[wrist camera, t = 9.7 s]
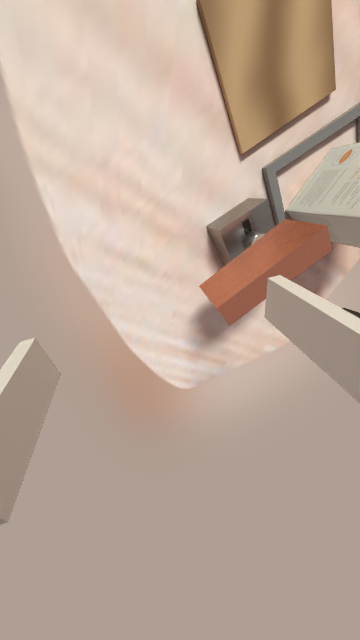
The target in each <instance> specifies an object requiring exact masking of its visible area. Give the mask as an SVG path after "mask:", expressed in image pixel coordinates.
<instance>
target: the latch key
mask: <svg viewBox="0 0 360 640" xmlns="http://www.w3.org/2000/svg"><path fill="white" fill-rule="evenodd" d="M244 245H245V247H246V248H247V249H246V250H245V251H243V252H242V253H241V254H240V255H238V256H237V257H236V258H234V259H233V260H232V261H231V262H229V263H228V264H227V265H226V266H224V267H223V268H222V269H220V270H219V271H218V272H217V273H215V274H214V275H213V276H211V277H210V278H209V279H208V280H206V281H205V282H204V283H203V284H201V285H200V286H199V287H200V288H201V290H202V291H203V292H204V294H205V295H206V296H207V298H208V299H209V300H210V302H211V303H212V304H213V305H214V307H215V308H216V309H217V310H218V311H219V313H220V314H221V315H222V316H223V317H224V319H225V320H226V321H227V322H228V324H229V325H231V324H232V323H233V322H235V321H236V320H237V319H239V318H240V317H242V316H243V315H244V314H246V313H247V312H248V311H250V310H251V309H253V308H254V307H255V306H257V305H258V304H259V303H261V302H262V301H264V300H265V299H266V295H267V282H268V278H270V277H274V276H278V275H281V276H283V277H285V278H286V279H288V280H290V281H291V280H292V279H294V278H295V277H296V276H298V275H299V274H301V273H302V272H303V271H305V270H306V269H307V268H309V267H310V266H312V265H313V264H314V263H316V262H317V261H318V260H320V259H321V258H323V257H324V256H325V255H327V254H328V253H329V252H331V251H332V250H333V249H332V245H331V240H330V235H329V231H328V226H327V225H322V224H315V223H308V222H301V221H295V220H288V219H284V220H283V221H282V222H280V223H279V224H278V225H277V226H275V227H274V228H273V229H272V230H270V231H269V232H268V233H266V234H264V233H260V232H257V231H251V232H249V233H248V234H247V235H246V237H245V239H244Z"/></svg>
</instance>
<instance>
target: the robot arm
mask: <svg viewBox="0 0 360 640" xmlns="http://www.w3.org/2000/svg"><path fill="white" fill-rule="evenodd" d="M265 318H266V319H267V320H268V321H269V322H271V323H272V324H273V325H274V326H275V327H276V328H277V329H278V330H279V331H280V332H282V333H283V334H284V335H285V336H286V337H287V338H288V339H289V340H290V341H292V342H293V343H294V344H295V345H296V346H297V347H298V348H299V349H300V350H301V351H303V352H304V353H305V354H306V355H307V356H308V357H309V358H310V359H311V360H313V361H314V362H315V363H316V364H317V365H318V366H319V367H320V368H321V369H323V371H325V372H326V373H327V374H328V375H329V376H330V377H331V378H332V379H333V380H335V381H336V382H337V383H338V384H339V385H340V386H341V387H342V388H343V389H345V390H346V391H347V392H348V393H349V394H350V395H351V396H352V397H353V398H354V399H356V400H357V401H358V402H359V403H360V313H358V312H355V311H352V310H349V309H346V308H340V307H338V306H336V305H334V304H332V303H331V302H329V301H327V300H325V299H323V298H321V297H320V296H318V295H316V294H314V293H312V292H310V291H309V290H307V289H305V288H303V287H301V286H299V285H297V284H296V283H294V282H292V281H290V280H288V279H286V278H285V277H283V276H281V275H278V276H274V277H270V278H268V282H267V295H266V307H265ZM60 375H61V372H60V371H59V370H58V368H57V367H56V366H55V364H54V363H53V361H52V360H51V359H50V357H49V356H48V354H47V353H46V352H45V350H44V349H43V348H42V346H41V345H40V343H39V342H38V341H37V339H36V338H33V339H29V340H25V341H22V342H20V343H19V344H18V346H17V347H16V348H15V350H14V351H13V353H12V354H11V356H10V357H9V358H8V360H7V361H6V363H5V364H4V366H3V367H2V368H1V370H0V524H4V523H7V522H8V521H9V518H10V515H11V513H12V510H13V507H14V504H15V502H16V498H17V496H18V493H19V490H20V488H21V485H22V482H23V479H24V476H25V473H26V470H27V468H28V465H29V462H30V459H31V457H32V454H33V451H34V448H35V445H36V442H37V439H38V437H39V434H40V431H41V429H42V426H43V423H44V420H45V417H46V414H47V412H48V408H49V406H50V403H51V400H52V398H53V395H54V392H55V389H56V386H57V384H58V381H59V378H60Z"/></svg>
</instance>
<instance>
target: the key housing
mask: <svg viewBox="0 0 360 640" xmlns="http://www.w3.org/2000/svg"><path fill="white" fill-rule="evenodd" d="M207 228H208V231H209V233H210V235H211V237H212V240H213V242H214V244H215V246H216V249H217V251H218V253H219V256H220V258H221V260H222V262H223V265H224V266H226V265H227V264H228V263H229V262H231V261H232V260H233V259H234V258H236V257H237V256H238V255H240V254H241V253H242V252H243V251H245V250H246V249H247V248H246V247H245V245H244V239H245V237H246V235H247V234H248V233H249V232H251V231H257V232H260V233H264V234H266V233H268V232H269V231H270V230H272V229H273V228H274V223H273V219H272V215H271V211H270V207H269V202H268V199H254V198H248V199H247V200H245V201H244V202H242V203H241V204H239V205H238V206H236V207H235V208H233V209H232V210H230V211H229V212H227V213H226V214H224V215H223V216H221V217H220V218H218V219H217V220H215V221H214V222H212V223H211V224H209V225H208V226H207Z"/></svg>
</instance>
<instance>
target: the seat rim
mask: <svg viewBox="0 0 360 640" xmlns="http://www.w3.org/2000/svg"><path fill="white" fill-rule="evenodd" d="M356 118H357V143H359V142H360V103H358V104H357V105H355V106H354V107H352V108H351V109H349V110H348V111H346V112H345V113H343V114H342V115H341V116H339V117H338V118H336V119H335V120H333V121H332V122H330V123H329V124H327V125H326V126H324V127H323V128H321V129H320V130H318V131H317V132H315V133H314V134H312V135H311V136H309V137H308V138H306V139H305V140H304V141H302V142H301V143H299V144H298V145H296V146H295V147H293V148H292V149H290V150H289V151H287V152H286V153H284V154H283V155H281V156H280V157H278V158H277V159H275V160H274V161H272V162H271V163H269V164H268V165H266V166H265V167H264V168H262V170H263V174H264V178H265V183H266V187H267V191H268V195H269V199H270V203H271V207H272V212H273V216H274V220H275V224H276V226H277V225H278V224H279V223H280V222H282V221H283V220H284V219H286V218H285V213H284V208H283V203H282V199H281V194H280V189H279V184H278V180H277V175H276V172H277V171H278V170H280V169H281V168H283V167H284V166H286V165H287V164H289V163H290V162H292V161H293V160H295V159H296V158H298V157H299V156H301V155H302V154H304V153H305V152H307V151H308V150H310V149H311V148H313V147H314V146H316V145H317V144H319V143H320V142H322V141H323V140H325V139H326V138H328V137H329V136H330V135H332V134H333V133H335V132H336V131H338V130H339V129H341V128H342V127H344V126H345V125H347V124H348V123H350V122H351V121H353V120H354V119H356ZM331 243H333V242H331Z"/></svg>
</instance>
